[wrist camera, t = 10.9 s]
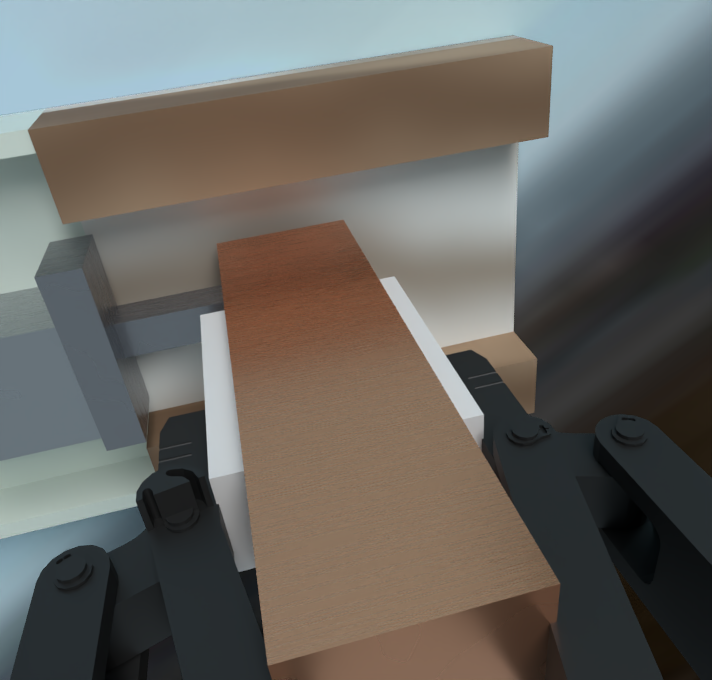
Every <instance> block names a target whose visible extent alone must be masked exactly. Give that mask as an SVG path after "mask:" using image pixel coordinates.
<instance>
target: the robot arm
mask: <svg viewBox="0 0 712 680" xmlns="http://www.w3.org/2000/svg"><path fill="white" fill-rule="evenodd" d="M379 280H380V282H381V283H382V285H383V287H384V289H385V290H386V292H387V294H388V295H389V297H390V299H391V300H392V302H393V304H394V305H395V307H396V309H397V310H398V312H399V314H400V315H401V317H402V319H403V320H404V322H405V324H406V325H407V327H408V329H409V330H410V332H411V334H412V335H413V337H414V339H415V341H416V342H417V344H418V346H419V347H420V349H421V351H422V352H423V354H424V356H425V357H426V359H427V361H428V362H429V364H430V366H431V367H432V369H433V371H434V372H435V374H436V376H437V377H438V379H439V381H440V382H441V384H442V386H443V388H444V389H445V391H446V393H447V394H448V396H449V398H450V399H451V401H452V403H453V404H454V406H455V408H456V409H457V411H458V413H459V414H460V416H461V418H462V419H463V421H464V423H465V424H466V426H467V428H468V429H469V431H470V433H471V435H472V436H473V438H474V440H475V441H476V443H477V445H478V446H479V448H480V450H481V451H482V453H483V455H484V456H485V458H486V460H487V461H488V463H489V465H490V466H491V468H492V470H493V471H494V473H495V475H496V476H497V478H498V480H499V482H500V483H501V485H502V487H503V488H504V490H505V492H506V493H507V495H508V497H509V498H510V500H511V502H512V503H513V505H514V507H515V508H516V510H517V512H518V513H519V515H520V517H521V518H522V520H523V522H524V523H525V525H526V527H527V528H528V530H529V532H530V534H531V535H532V537H533V539H534V540H535V542H536V544H537V545H538V547H539V549H540V550H541V552H542V554H543V555H544V557H545V559H546V560H547V562H548V564H549V565H550V567H551V569H552V570H553V572H554V574H555V575H556V577H557V579H558V581H559V582H560V593H559V603H558V613H557V621H556V622H553V623H550V630H549V640H548V651H547V661H546V672H545V680H663V678H662V676H661V673H660V671H659V669H658V666H657V664H656V662H655V659H654V657H653V655H652V653H651V650H650V648H649V646H648V643H647V641H646V639H645V636H644V634H643V632H642V629H641V627H640V625H639V623H638V620H637V618H636V616H635V613H634V611H633V609H632V606H631V604H630V602H629V599H628V597H627V595H626V593H625V590H624V588H623V586H622V583H621V581H620V579H619V576H618V574H617V572H616V570H615V567H614V565H615V566H616V567H617V569H618V570H619V571H620V573H621V574H622V575H623V577H624V578H625V579H626V581H627V582H628V583H629V585H630V586H631V587H632V589H633V590H634V591H635V593H636V594H637V595H638V597H639V598H640V599H641V601H642V602H643V603H644V605H645V606H646V607H647V609H648V610H649V611H650V612H651V614H652V615H653V616H654V618H655V619H656V620H657V622H658V623H659V624H660V626H661V627H662V628H663V630H664V631H665V632H666V634H667V635H668V636H669V638H670V639H671V640H672V642H673V643H674V644H675V646H676V647H677V648H678V650H679V651H680V652H681V654H682V655H683V656H684V658H685V659H686V660H687V662H688V663H689V664H690V666H691V667H692V668H693V670H694V671H695V672H696V674H697V675H698V676H699V678H700V679H701V680H712V478H711V477H710V476H709V475H708V474H707V473H706V472H704V471H703V470H702V469H701V468H700V467H699V466H698V465H697V464H696V463H695V462H694V461H693V460H692V459H691V458H690V457H689V456H687V455H686V454H685V453H684V452H683V451H682V450H681V449H680V448H679V447H678V446H677V445H676V444H675V443H674V442H673V441H672V440H671V439H669V438H668V437H667V436H666V435H665V434H664V433H663V432H662V431H661V430H660V429H659V428H658V427H657V426H655V425H654V424H652V423H651V422H649V421H648V420H646V419H643V418H640V417H637V416H633V415H624V414H620V415H612V416H609V417H606V418H604V419H602V420H601V421H600V422H599V423H598V424H597V426H596V429H595V434H570V433H560V432H555V430H554V429H553V428H552V426H551V425H550V424H548V423H547V422H545V421H544V420H542V419H540V418H536V417H532V416H529V415H528V414H527V412H526V411H525V410H524V408H523V407H522V406H521V404H520V403H519V402H518V400H517V399H516V398H515V396H514V395H513V393H512V392H511V391H510V389H509V388H508V387H507V385H506V384H505V383H503V380H502V379H501V377H500V376H499V375H498V373H496V371H495V369H494V368H493V366H492V365H491V364H490V362H489V361H488V360H487V358H485V357H483V356H481V355H480V354H478V353H476V352H474V351H473V350H467V351H462V352H458V353H453V354H448V355H445V354H444V352H443V351H442V349H441V348H440V346H439V344H438V343H437V341H436V340H435V338H434V337H433V335H432V334H431V332H430V331H429V329H428V327H427V326H426V324H425V323H424V321H423V320H422V318H421V317H420V315H419V314H418V312H417V310H416V309H415V307H414V306H413V304H412V303H411V301H410V300H409V298H408V297H407V295H406V293H405V292H404V290H403V289H402V287H401V286H400V284H399V283H398V281H397V279H396V278H395V276H393V277H388V278H383V279H379ZM200 322H201V341H202V359H203V378H204V397H205V410H200V411H196V412H191V413H187V414H182V415H178V416H173V417H169V418H168V420H167V422H166V423H165V425H164V427H163V428H162V430H161V432H160V438H159V450H160V451H159V464H158V471H156V472H154V473H152V474H151V475H150V476H149V477H147V478H146V479H145V480H144V481H143V482H142V483H141V485H140V487H139V488H138V490H137V492H136V504H137V506H138V508H139V511H140V513H141V516H142V518H143V521H144V523H145V526H146V529H145V531H143V532H142V533H141V534H140V535H139V536H138V537H136V538H135V539H133V540H132V541H130V542H128V543H127V544H125V545H123V546H121V547H119V548H117V549H115V550H113V551H111V552H109V553H106V552H105V550H104V549H103V548H100V547H97V546H94V545H86V546H78V547H75V548H72V549H69V550H67V551H65V552H63V553H62V554H60V555H58V556H57V557H55V558H54V559H52V560H51V561H50V563H49V564H48V565H47V566H46V567H45V568H44V569H43V570H42V572H41V574H40V576H39V578H38V580H37V582H36V585H35V589H34V593H33V597H32V600H31V604H30V608H29V611H28V615H27V619H26V622H25V626H24V630H23V634H22V637H21V641H20V645H19V648H18V652H17V656H16V659H15V663H14V667H13V670H12V674H11V678H10V680H146V679H147V667H148V656H149V648H150V647H152V646H153V645H155V644H157V643H159V642H160V641H162V640H164V639H165V638H167V637H169V636H171V635H172V636H173V640H174V644H175V648H176V653H177V657H178V661H179V665H180V669H181V674H182V678H183V680H272V678H271V675H270V672H269V669H268V665H267V657H266V649H265V642H264V639H263V637H262V634H261V631H260V628H259V626H258V623H257V620H256V618H255V615H254V612H253V610H252V607H251V604H250V602H249V599H248V596H247V593H246V591H245V588H244V585H243V583H242V580H241V577H240V575H239V572H241V571H245V570H249V569H252V568H256V566H255V558H254V549H253V541H252V533H251V525H250V516H249V508H248V500H247V491H246V483H245V475H244V467H243V458H242V450H241V442H240V434H239V425H238V417H237V409H236V400H235V392H234V384H233V376H232V367H231V359H230V351H229V343H228V334H227V326H226V318H225V310H223V311H218V312H213V313H208V314H203V315H200ZM612 562H613V563H614V565H613V563H612Z"/></svg>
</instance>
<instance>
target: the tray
mask: <svg viewBox="0 0 712 680" xmlns="http://www.w3.org/2000/svg"><path fill="white" fill-rule="evenodd" d="M44 110H45V109H39V110H33V111H27V112H20V113H14V114H7V115H1V116H0V294H4V293H9V292H14V291H19V290H24V289H30V288H35V287H38V286H37V283H36V281H35V278H34V277H35V274H36V272H37V270H38V268H39V265H40V263H41V261H42V259H43V256H44V254H45V252H46V249H47V247H48V245H49V243H50V242H53V241H58V240H64V239H69V238H75V237H80V236H86V235H85V232H84V229H83V226H82V224H81V221H79V222H74V223H68V224H62V221H61V218H60V216H59V213H58V210H57V208H56V205H55V202H54V200H53V197H52V194H51V192H50V189H49V186H48V184H47V181H46V178H45V176H44V173H43V170H42V167H41V165H40V162H39V159H38V157H37V154H36V151H35V149H34V146H33V143H32V141H31V138H30V135H29V133H28V129H29V128H30V127H31V125H32V124H33V123H34V122H35V121H36V120H37V118H38V117H39V116H40V115H41V114H42V112H43V111H44ZM148 418H149V412H148ZM147 433H148V426H147ZM146 447H147V441H146V442H145V443H140V444H136V445H131V446H127V447H123V448H118V449H114V450H109V451H107V450H106V448H105V445H104V443H103V441H102V438H101V439H96V440H92V441H87V442H83V443H78V444H74V445H69V446H65V447H60V448H56V449H51V450H47V451H43V452H38V453H34V454H29V455H25V456H20V457H16V458H11V459H7V460H2V461H0V539H3V538H7V537H11V536H15V535H19V534H23V533H28V532H32V531H36V530H40V529H44V528H48V527H53V526H57V525H61V524H65V523H69V522H73V521H77V520H82V519H86V518H90V517H94V516H98V515H102V514H107V513H111V512H115V511H119V510H123V509H127V508H131V507H136V506H137V504H136V492H137V490H138V488H139V487H140V485H141V483H142V482H143V481H144V480H145V479H146V478H147V477H149V476H150V475H151V474H152V473H154V472H155V470H154V467H153V465H152V462H151V459H150V457H149V454H148V451H147V449H146Z"/></svg>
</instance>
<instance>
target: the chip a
mask: <svg viewBox="0 0 712 680" xmlns="http://www.w3.org/2000/svg"><path fill="white" fill-rule="evenodd" d="M96 439H101V436H100V433H99V431H98V429H97V426H96V424H95V422H94V419H93V417H92V414H91V412H90V410H89V407H88V405H87V402H86V400H85V398H84V395H83V393H82V391H81V388H80V386H79V383H78V381H77V379H76V376H75V374H74V371H73V369H72V367H71V364H70V362H69V359H68V357H67V355H66V352H65V350H64V348H63V345H62V343H61V340H60V338H59V336H58V333H57V331H56V328H55V326H54V324H53V321H52V319H51V317H50V314H49V312H48V309H47V307H46V305H45V302H44V300H43V297H42V295H41V293H40V290H39V288H38V287H35V288H30V289H24V290H19V291H14V292H9V293H4V294H0V461H2V460H7V459H11V458H16V457H20V456H25V455H29V454H34V453H38V452H43V451H47V450H51V449H56V448H60V447H65V446H69V445H74V444H78V443H83V442H87V441H92V440H96Z"/></svg>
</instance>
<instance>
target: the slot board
mask: <svg viewBox="0 0 712 680" xmlns="http://www.w3.org/2000/svg"><path fill="white" fill-rule="evenodd" d="M552 54H553V46H551V45H548V44H544V43H540V42H536V41H532V40H529V39H525V38H521V37H517V36H513V35H512V36H505V37H499V38H493V39H486V40H480V41H474V42H467V43H461V44H454V45H448V46H442V47H435V48H429V49H422V50H416V51H410V52H403V53H397V54H391V55H384V56H378V57H371V58H365V59H359V60H352V61H346V62H339V63H333V64H327V65H320V66H314V67H308V68H301V69H295V70H288V71H282V72H276V73H269V74H263V75H256V76H250V77H244V78H237V79H231V80H225V81H218V82H212V83H205V84H199V85H193V86H186V87H180V88H173V89H167V90H161V91H154V92H148V93H141V94H135V95H129V96H122V97H116V98H110V99H103V100H97V101H90V102H84V103H78V104H71V105H65V106H58V107H52V108H46V109H45V110H44V111H43V112H42V114H41V115H40V116H39V117H38V118H37V120H36V121H35V122H34V123H33V124H32V125H31V127H30V128H29V129H28V133H29V135H30V138H31V141H32V143H33V146H34V149H35V151H36V154H37V157H38V159H39V162H40V165H41V167H42V170H43V173H44V176H45V178H46V181H47V184H48V186H49V189H50V192H51V194H52V197H53V200H54V202H55V205H56V208H57V210H58V213H59V216H60V218H61V221H62V224H68V223H74V222H79V221H81V224H82V226H83V229H84V232H85V235H91V234H92V235H93V238H94V240H95V243H96V246H97V249H98V252H99V255H100V258H101V260H102V263H103V266H104V269H105V272H106V275H107V277H108V280H109V283H110V286H111V289H112V292H113V295H114V297H115V300H116V303H117V306H118V305H123V304H128V303H133V302H139V301H144V300H149V299H154V298H159V297H164V296H169V295H174V294H179V293H184V292H189V291H194V290H199V289H204V288H209V287H214V286H219V285H221V276H220V268H219V260H218V251H217V243H223V242H228V241H233V240H238V239H244V238H249V237H254V236H259V235H265V234H270V233H275V232H281V231H286V230H291V229H296V228H302V227H307V226H312V225H317V224H323V223H328V222H333V221H338V220H344V221H345V223H346V225H347V226H348V228H349V230H350V231H351V233H352V235H353V236H354V238H355V240H356V242H357V243H358V245H359V247H360V248H361V250H362V252H363V253H364V255H365V257H366V258H367V260H368V262H369V263H370V265H371V267H372V268H373V270H374V272H375V273H376V275H377V277H378V278H379V279H383V278H388V277H393V276H395V278H396V279H397V281H398V283H399V284H400V286H401V287H402V289H403V290H404V292H405V293H406V295H407V297H408V298H409V300H410V301H411V303H412V304H413V306H414V307H415V309H416V310H417V312H418V314H419V315H420V317H421V318H422V320H423V321H424V323H425V324H426V326H427V327H428V329H429V331H430V332H431V334H432V335H433V337H434V338H435V340H436V341H437V343H438V344H439V346H440V348H441V349H442V351H443V352H444V354H445V355H448V354H453V353H458V352H462V351H467V350H473V351H474V352H476V353H478V354H480V355H481V356H483V357H485V358H487V360H488V361H489V362H490V364H491V365H492V366H493V368H494V369H495V371H496V373H498V375H499V376H500V377H501V379H502V380H503V383H505V384H506V385H507V387H508V388H509V389H510V391H511V392H512V393H513V395H514V396H515V398H516V399H517V400H518V402H519V403H520V404H521V406H522V407H523V408H524V410H525V411H526V412H527V414H530V413H534V408H535V388H536V369H537V358H536V357H535V356H534V355H533V353H532V352H531V351H530V350H529V349H528V348H527V347H526V345H525V344H524V343H523V342H522V341H521V340H520V339H519V337H518V336H517V335H516V334H515V333H514V332H513V329H514V292H515V254H516V216H517V179H518V142H523V141H528V140H534V139H539V138H545V137H548V132H549V113H550V93H551V73H552ZM135 357H136V360H137V363H138V366H139V369H140V372H141V374H142V377H143V380H144V383H145V386H146V389H147V391H148V394H149V418H148V433H147V447H146V449H147V451H148V454H149V457H150V459H151V462H152V465H153V467H154V470H155V472H156V471H158V464H159V451H160V450H159V438H160V432H161V430H162V428H163V427H164V425H165V423H166V422H167V420H168V418H169V417H173V416H178V415H182V414H187V413H191V412H196V411H200V410H205V397H204V378H203V359H202V342H199V343H195V344H190V345H185V346H180V347H176V348H171V349H166V350H161V351H156V352H152V353H147V354H142V355H137V356H135Z"/></svg>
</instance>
